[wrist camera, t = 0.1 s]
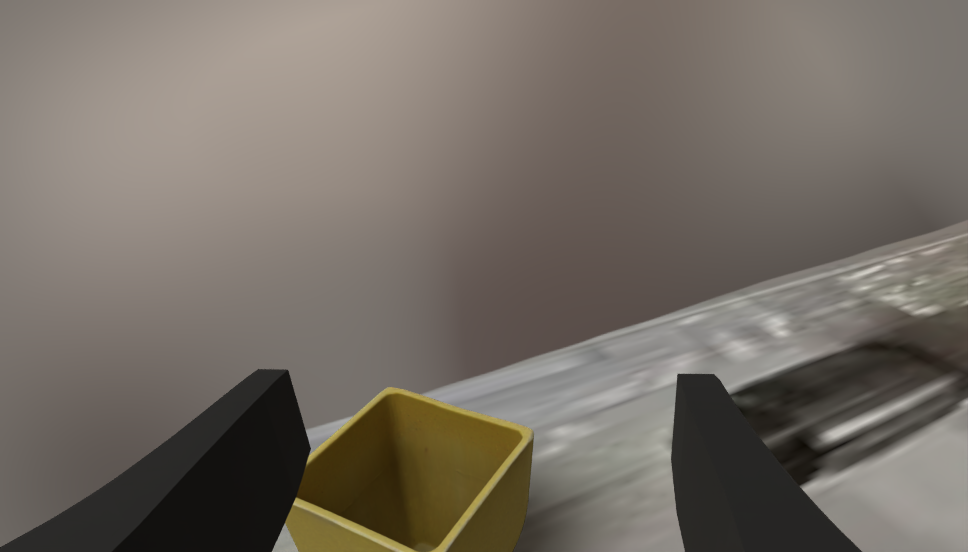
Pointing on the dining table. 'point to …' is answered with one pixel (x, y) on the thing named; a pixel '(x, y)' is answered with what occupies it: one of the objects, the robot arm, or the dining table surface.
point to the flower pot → (415, 481)
